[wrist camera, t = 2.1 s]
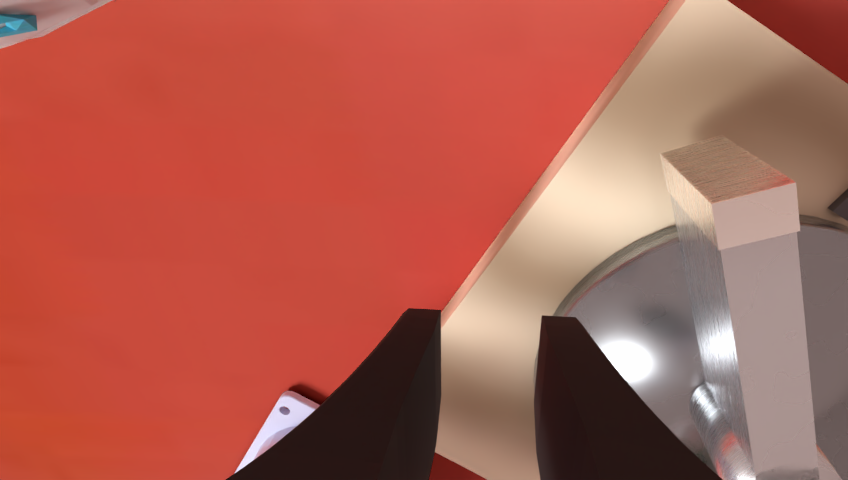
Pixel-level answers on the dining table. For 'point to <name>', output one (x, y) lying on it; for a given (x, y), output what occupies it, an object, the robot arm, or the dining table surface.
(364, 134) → the dining table surface
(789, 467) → the dial
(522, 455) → the stand plate
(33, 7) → the puzzle ball
